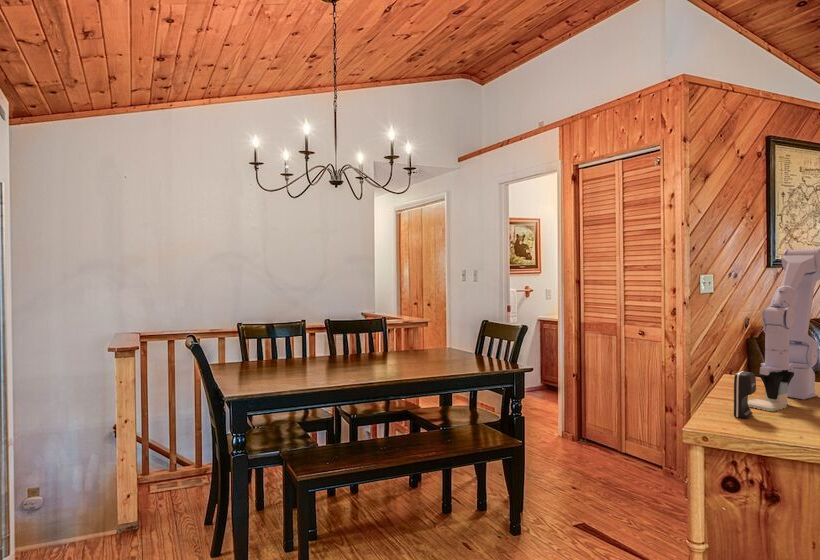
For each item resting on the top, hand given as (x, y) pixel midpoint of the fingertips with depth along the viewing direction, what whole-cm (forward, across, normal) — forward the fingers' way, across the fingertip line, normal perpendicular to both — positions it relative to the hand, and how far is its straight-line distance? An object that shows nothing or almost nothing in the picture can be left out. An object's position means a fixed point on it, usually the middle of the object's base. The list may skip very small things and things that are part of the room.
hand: (776, 397), depth 162 cm
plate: (+2, +7, 0) cm, 7 cm away
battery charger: (+2, +22, +2) cm, 22 cm away
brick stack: (+2, 0, 0) cm, 2 cm away
